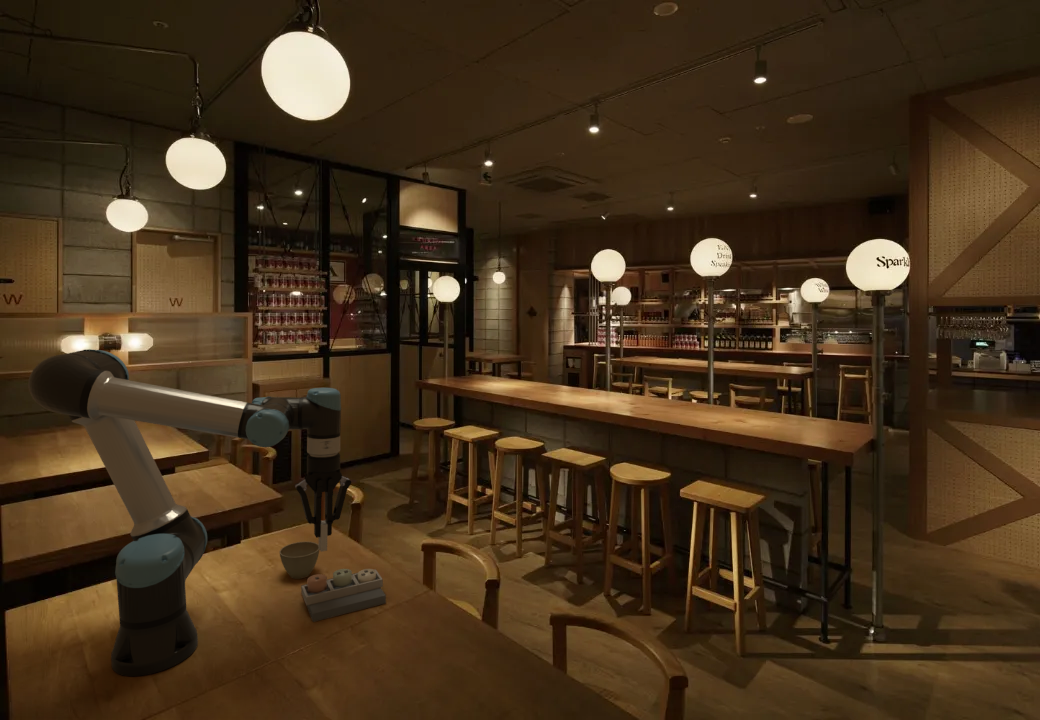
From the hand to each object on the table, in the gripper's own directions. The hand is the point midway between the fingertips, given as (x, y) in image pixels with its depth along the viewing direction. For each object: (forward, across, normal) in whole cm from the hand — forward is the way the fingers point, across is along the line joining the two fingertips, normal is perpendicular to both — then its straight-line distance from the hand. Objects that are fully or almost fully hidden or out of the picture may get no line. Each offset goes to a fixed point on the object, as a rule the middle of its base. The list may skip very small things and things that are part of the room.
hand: (322, 548), depth 139 cm
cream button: (+11, +11, -1) cm, 15 cm away
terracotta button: (+10, -1, 0) cm, 10 cm away
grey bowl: (+14, -2, +18) cm, 23 cm away
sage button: (+9, +5, 0) cm, 10 cm away
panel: (+13, +5, 0) cm, 14 cm away
